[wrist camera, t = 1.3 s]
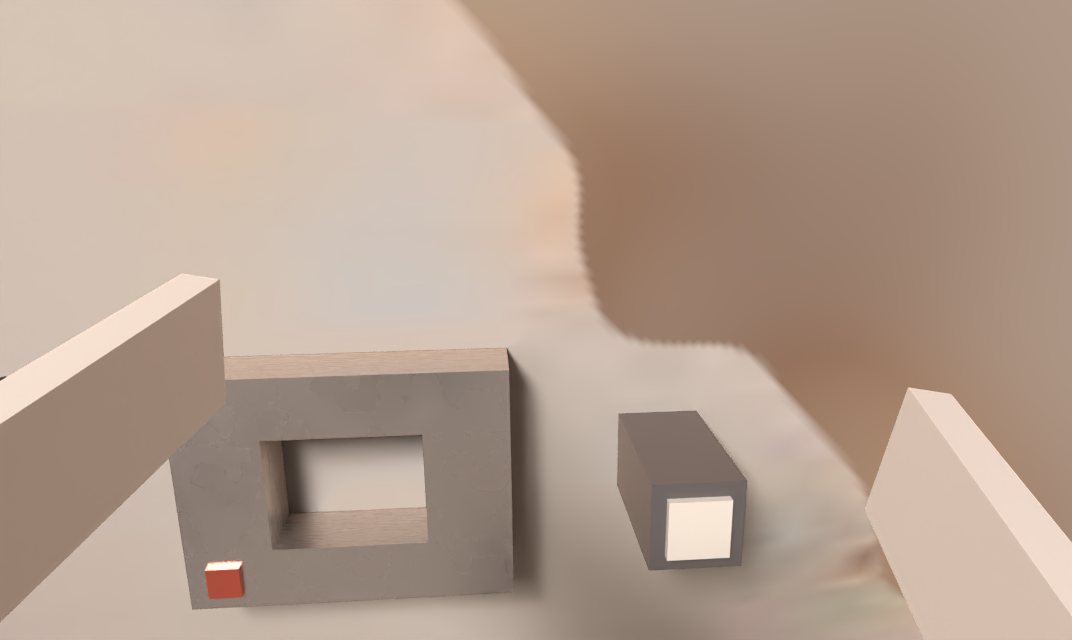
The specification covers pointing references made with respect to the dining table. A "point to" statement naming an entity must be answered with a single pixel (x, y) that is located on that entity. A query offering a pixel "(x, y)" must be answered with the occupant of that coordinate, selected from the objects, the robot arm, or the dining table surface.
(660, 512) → the plug
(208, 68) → the dining table surface
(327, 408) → the socket plate
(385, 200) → the dining table surface
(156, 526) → the dining table surface
